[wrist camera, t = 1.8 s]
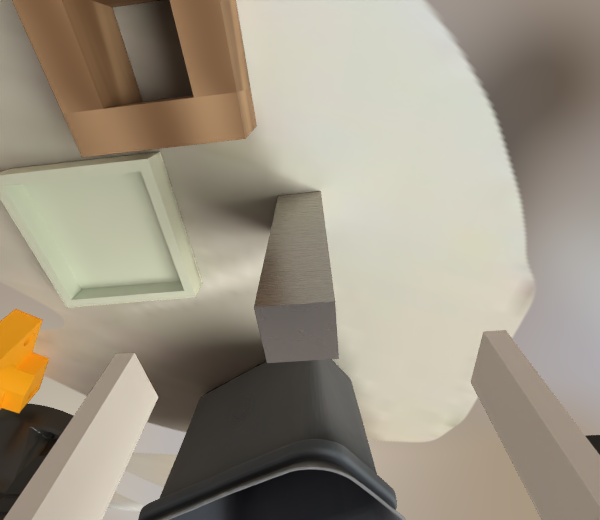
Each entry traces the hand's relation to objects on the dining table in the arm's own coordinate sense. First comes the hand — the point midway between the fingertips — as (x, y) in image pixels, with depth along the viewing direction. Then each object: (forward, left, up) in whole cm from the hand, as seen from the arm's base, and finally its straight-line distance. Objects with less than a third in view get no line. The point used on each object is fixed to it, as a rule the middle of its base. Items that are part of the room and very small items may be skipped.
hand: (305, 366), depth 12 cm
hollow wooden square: (-8, +12, -16) cm, 21 cm away
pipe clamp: (-32, -14, -16) cm, 39 cm away
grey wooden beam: (0, 0, -16) cm, 16 cm away
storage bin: (-5, -22, -16) cm, 28 cm away
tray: (-16, 0, -16) cm, 23 cm away
